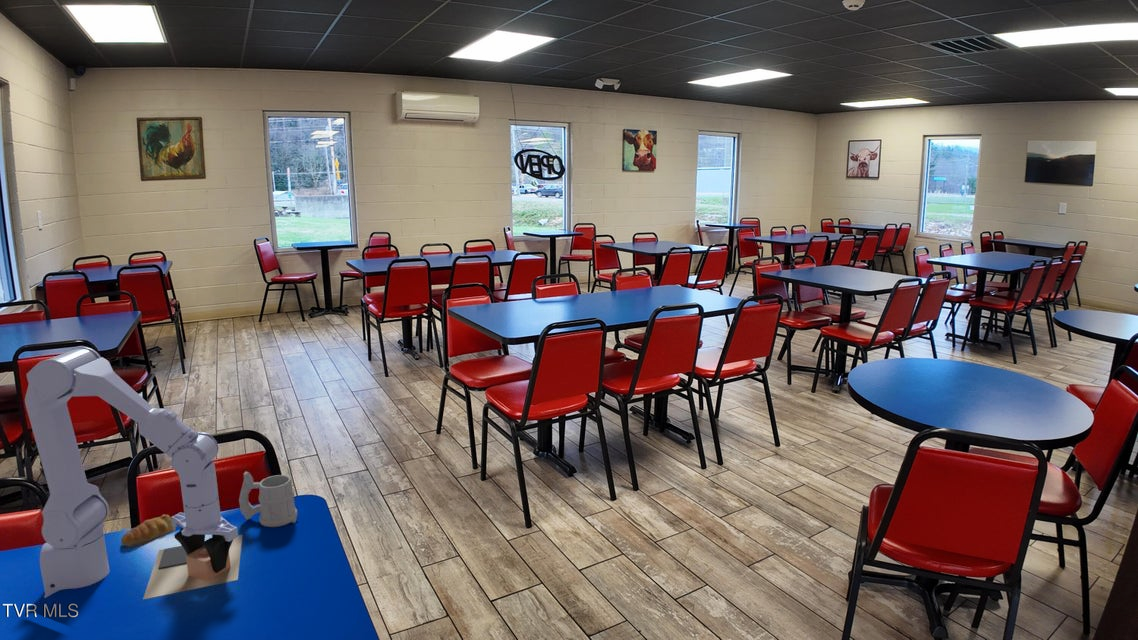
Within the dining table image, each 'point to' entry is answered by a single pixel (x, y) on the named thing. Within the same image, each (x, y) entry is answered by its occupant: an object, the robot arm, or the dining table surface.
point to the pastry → (148, 531)
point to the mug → (270, 500)
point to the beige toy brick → (202, 565)
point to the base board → (179, 580)
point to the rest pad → (173, 557)
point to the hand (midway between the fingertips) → (209, 566)
